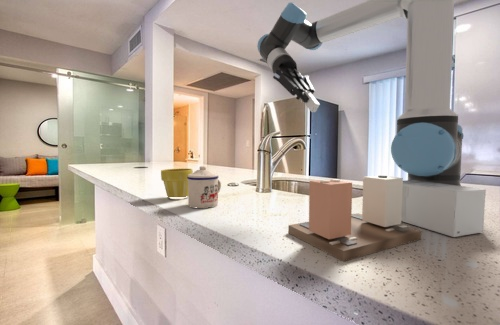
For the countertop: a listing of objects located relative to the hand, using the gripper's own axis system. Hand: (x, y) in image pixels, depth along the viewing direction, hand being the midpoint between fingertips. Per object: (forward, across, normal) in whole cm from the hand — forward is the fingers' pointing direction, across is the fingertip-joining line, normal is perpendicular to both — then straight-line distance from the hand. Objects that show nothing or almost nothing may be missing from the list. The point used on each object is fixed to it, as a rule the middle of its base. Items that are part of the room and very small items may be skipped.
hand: (315, 108), depth 69 cm
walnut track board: (+35, +9, -5) cm, 36 cm away
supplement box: (+28, -13, -5) cm, 32 cm away
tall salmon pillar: (+34, +16, -3) cm, 38 cm away
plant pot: (-3, +32, -43) cm, 53 cm away
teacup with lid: (+7, +26, -33) cm, 42 cm away
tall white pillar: (+34, +2, -3) cm, 34 cm away
